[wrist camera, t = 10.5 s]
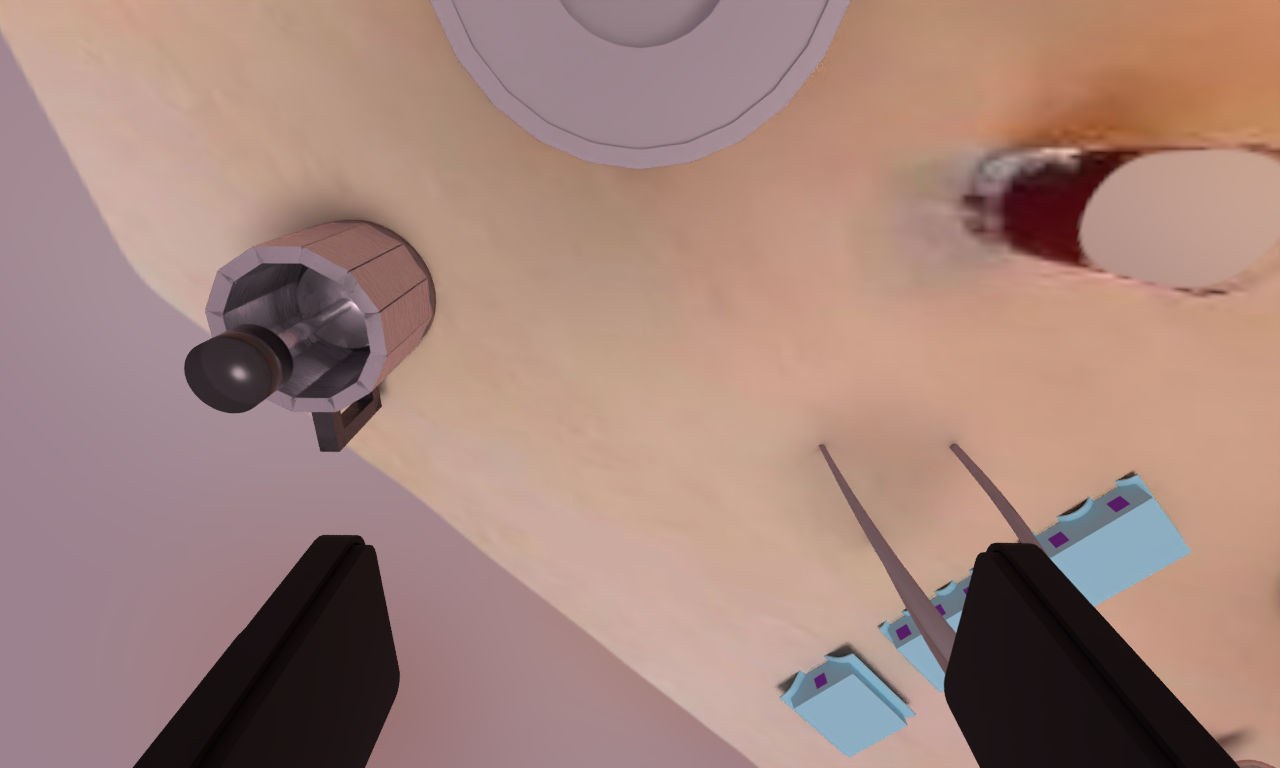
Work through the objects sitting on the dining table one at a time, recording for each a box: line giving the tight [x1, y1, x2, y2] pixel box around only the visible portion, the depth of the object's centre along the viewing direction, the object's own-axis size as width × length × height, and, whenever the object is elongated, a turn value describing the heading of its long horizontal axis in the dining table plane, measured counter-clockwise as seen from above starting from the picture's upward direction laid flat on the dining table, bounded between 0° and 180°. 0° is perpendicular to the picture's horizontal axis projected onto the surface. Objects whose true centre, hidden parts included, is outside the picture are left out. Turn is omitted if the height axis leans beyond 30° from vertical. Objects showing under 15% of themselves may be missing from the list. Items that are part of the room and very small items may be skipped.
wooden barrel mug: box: [205, 220, 436, 452], centre depth 40 cm, size 13×10×9 cm
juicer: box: [819, 444, 1048, 674], centre depth 35 cm, size 10×9×30 cm
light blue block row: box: [780, 474, 1191, 757], centre depth 53 cm, size 34×3×10 cm
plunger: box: [184, 268, 369, 413], centre depth 35 cm, size 6×6×13 cm
